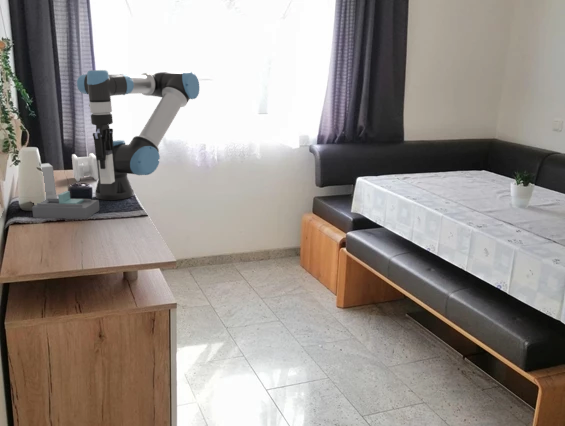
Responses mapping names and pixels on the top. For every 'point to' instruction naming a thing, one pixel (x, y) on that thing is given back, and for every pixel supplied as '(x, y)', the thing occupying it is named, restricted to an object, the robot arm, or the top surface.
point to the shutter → (68, 199)
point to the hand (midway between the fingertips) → (107, 175)
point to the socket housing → (65, 209)
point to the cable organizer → (84, 166)
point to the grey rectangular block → (110, 169)
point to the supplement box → (49, 180)
